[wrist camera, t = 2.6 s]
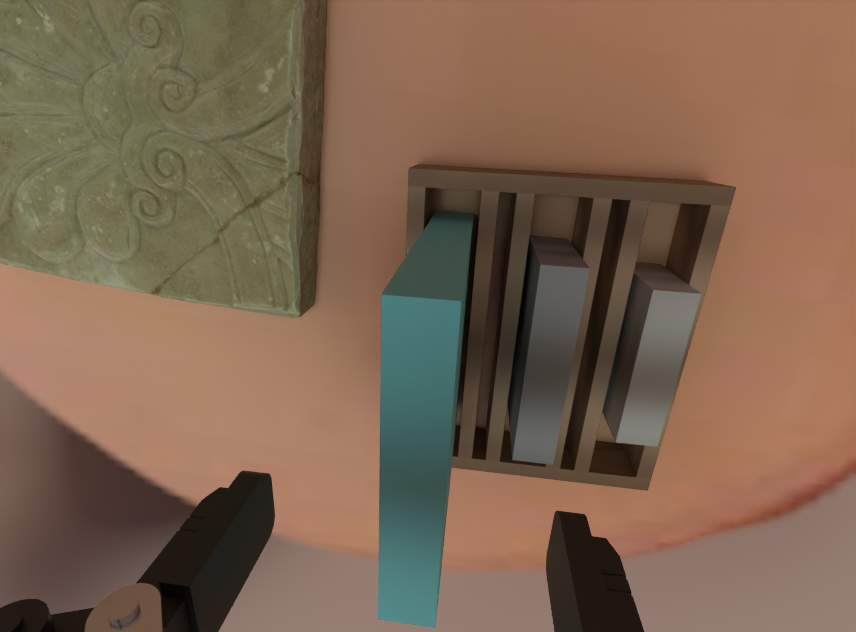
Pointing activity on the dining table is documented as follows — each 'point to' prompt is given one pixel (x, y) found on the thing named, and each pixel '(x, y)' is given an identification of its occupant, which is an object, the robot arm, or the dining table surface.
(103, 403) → the dining table surface
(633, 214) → the rack
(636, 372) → the offcut short
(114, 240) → the decorative tile
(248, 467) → the dining table surface
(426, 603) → the teal sheet
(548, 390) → the offcut tall
